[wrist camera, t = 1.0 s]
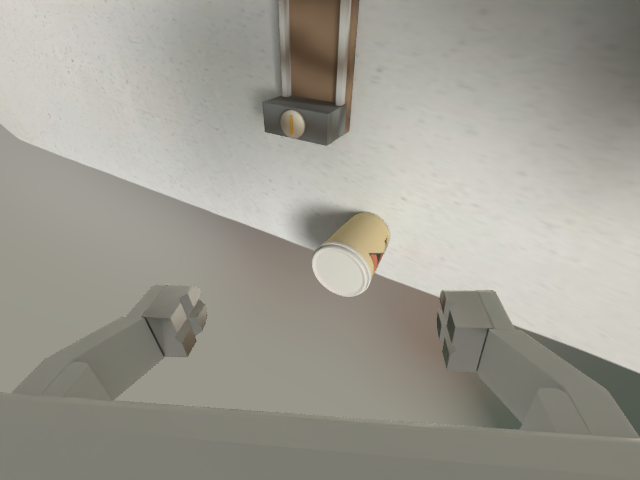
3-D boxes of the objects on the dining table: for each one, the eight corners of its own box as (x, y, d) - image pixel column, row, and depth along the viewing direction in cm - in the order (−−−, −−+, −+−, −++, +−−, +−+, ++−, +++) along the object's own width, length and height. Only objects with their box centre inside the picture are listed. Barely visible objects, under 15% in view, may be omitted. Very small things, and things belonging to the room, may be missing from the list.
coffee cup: (380, 263, 58) (352, 308, 49) (336, 235, 59) (302, 273, 51) (405, 228, 52) (379, 272, 43) (356, 196, 53) (321, 233, 45)
